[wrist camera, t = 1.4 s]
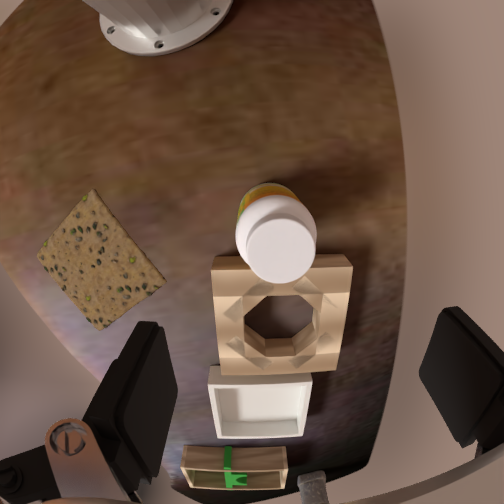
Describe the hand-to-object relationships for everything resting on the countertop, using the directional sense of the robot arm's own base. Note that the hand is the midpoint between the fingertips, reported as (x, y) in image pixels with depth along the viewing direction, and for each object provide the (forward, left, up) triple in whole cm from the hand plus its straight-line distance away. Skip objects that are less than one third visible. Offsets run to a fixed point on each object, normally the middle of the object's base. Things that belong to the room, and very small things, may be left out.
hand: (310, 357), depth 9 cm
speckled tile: (+5, -18, -19) cm, 26 cm away
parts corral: (+41, -5, -18) cm, 45 cm away
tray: (+23, -1, -18) cm, 29 cm away
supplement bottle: (0, 0, -18) cm, 18 cm away
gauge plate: (+10, +1, -18) cm, 20 cm away
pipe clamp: (+41, -5, -18) cm, 45 cm away
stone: (+50, +9, -18) cm, 54 cm away
